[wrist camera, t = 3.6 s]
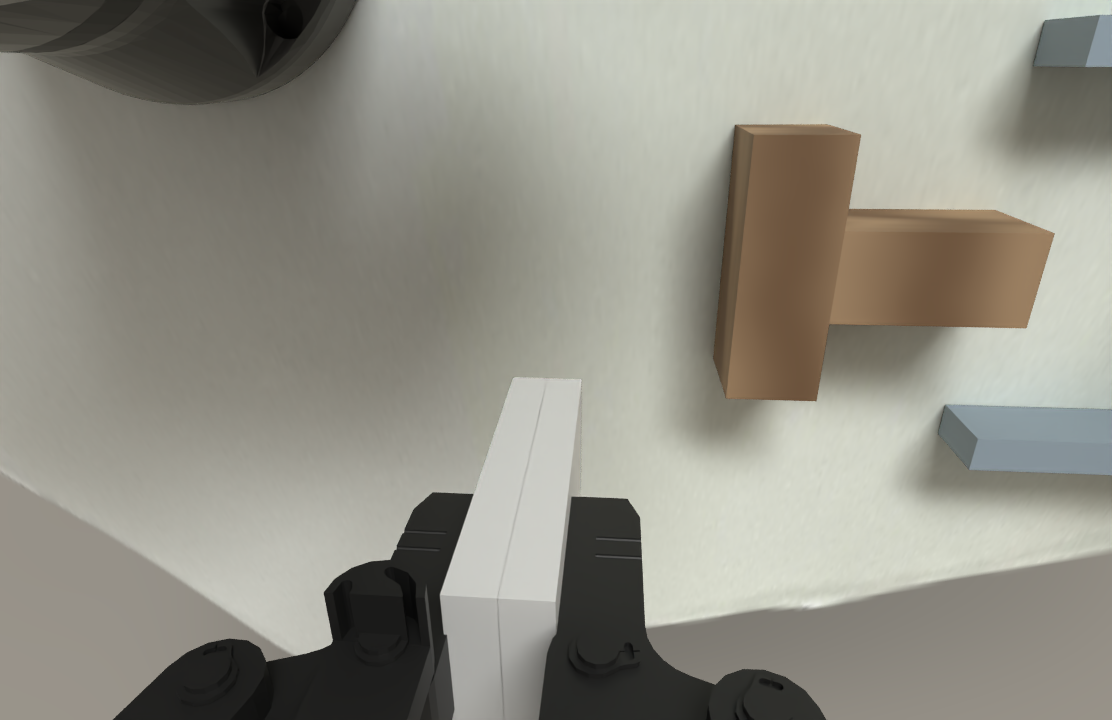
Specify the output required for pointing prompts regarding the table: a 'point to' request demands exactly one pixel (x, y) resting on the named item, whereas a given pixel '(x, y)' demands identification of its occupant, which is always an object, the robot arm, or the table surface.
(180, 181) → the table surface
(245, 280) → the table surface
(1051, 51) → the dock
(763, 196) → the t block
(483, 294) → the table surface
